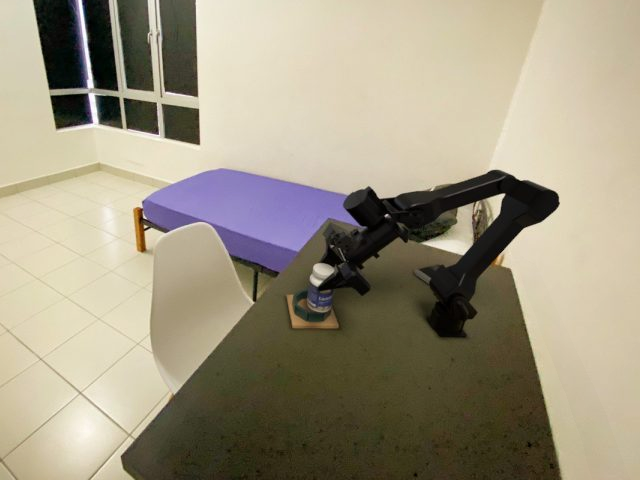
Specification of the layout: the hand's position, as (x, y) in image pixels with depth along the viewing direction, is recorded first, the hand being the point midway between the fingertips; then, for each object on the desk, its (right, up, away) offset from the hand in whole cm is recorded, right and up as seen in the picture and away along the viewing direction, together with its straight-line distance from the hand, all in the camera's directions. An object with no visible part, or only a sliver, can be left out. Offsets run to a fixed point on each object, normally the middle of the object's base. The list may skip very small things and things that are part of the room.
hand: (315, 281), depth 75 cm
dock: (0, -10, +8) cm, 13 cm away
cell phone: (+40, -6, +26) cm, 48 cm away
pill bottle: (+1, -6, +2) cm, 7 cm away
